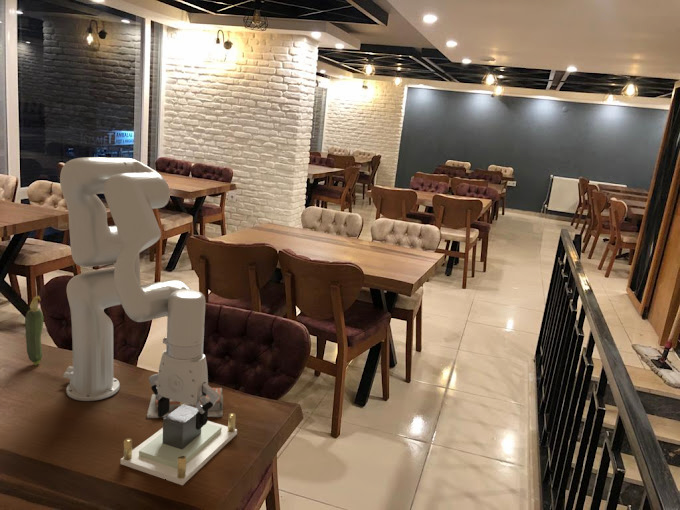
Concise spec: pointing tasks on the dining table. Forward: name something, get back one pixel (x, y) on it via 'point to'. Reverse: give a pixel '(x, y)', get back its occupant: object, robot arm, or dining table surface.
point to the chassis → (184, 469)
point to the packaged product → (212, 412)
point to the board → (174, 452)
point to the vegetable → (34, 331)
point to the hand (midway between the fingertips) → (182, 420)
